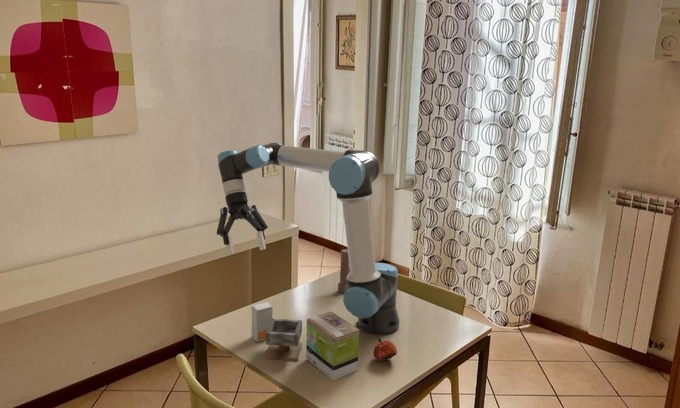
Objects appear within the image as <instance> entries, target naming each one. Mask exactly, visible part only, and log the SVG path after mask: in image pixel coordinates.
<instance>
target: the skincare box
mask: <svg viewBox="0 0 680 408" xmlns="http://www.w3.org/2000/svg"><path fill="white" fill-rule="evenodd" d="M273 310H274V308H273V305H271V304H270V303H269V302H268V301H267V302H262V303H257V304H254V305H251V338H252V339H253V340H254V341H255V342H256V343H258V342H261V341H266V332H267V329H268V327H269V324H270V322H271V319H273Z"/></svg>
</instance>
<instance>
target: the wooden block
mask: <svg viewBox="0 0 680 408" xmlns="http://www.w3.org/2000/svg"><path fill="white" fill-rule="evenodd" d="M339 269H340V271H339V282H338V284H337V291H338V292H339V293H342V294H343V295H344V294H345V292H346V290H347V289H348V288H347V279H346V277H347V275H348V274H349V273H350V265H349V257H348V249H347V248H346V249H341V250H340V268H339Z"/></svg>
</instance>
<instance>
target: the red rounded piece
mask: <svg viewBox="0 0 680 408" xmlns="http://www.w3.org/2000/svg"><path fill="white" fill-rule="evenodd" d="M377 340H378V343H377V344H376V345H375V346H374V348H373V357H374V359H375V360H377V362H378V363H382V362H384V361H387V362H388V364H389V366H390V368H392V366H391V362H390V360H392V359H393V358H394V357H395V356H396V355H397V353H398V349H397V346H396V345H395V344H394V343H393V342H392V341H390V340H383V341H382V340H381V338H380V337H379V338H377Z"/></svg>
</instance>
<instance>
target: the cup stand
mask: <svg viewBox="0 0 680 408" xmlns="http://www.w3.org/2000/svg"><path fill="white" fill-rule="evenodd" d="M302 333H303V320H301V319H288V318H287V319H284V318H272V319H271V322H270V324H269V327H268V329H267V332H266V340H265V345H266V346H267V345H269V347H268V349H267V353H266V354H265V359H267V360H268V359H269V360H280V361H281V360H282V361H295V362H297V361H298V360H299V356H300V353H301V349H302V344H303V342H300V341H301V337H302Z"/></svg>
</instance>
